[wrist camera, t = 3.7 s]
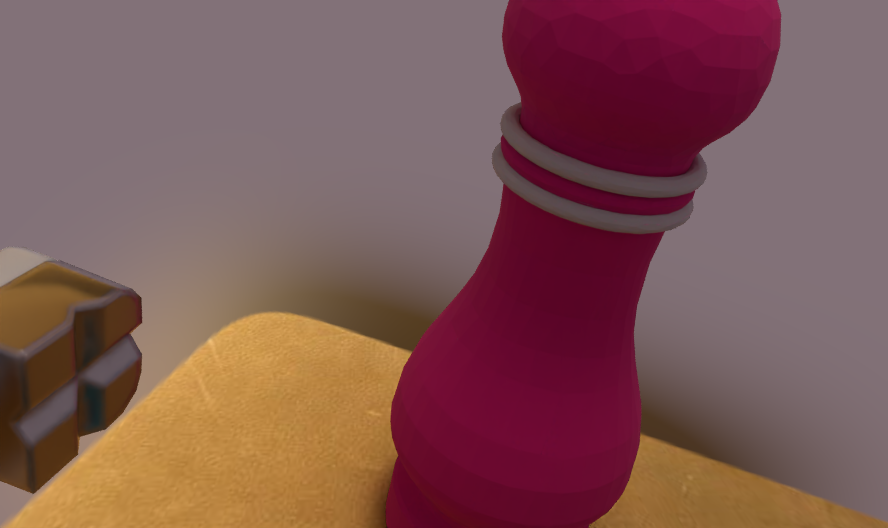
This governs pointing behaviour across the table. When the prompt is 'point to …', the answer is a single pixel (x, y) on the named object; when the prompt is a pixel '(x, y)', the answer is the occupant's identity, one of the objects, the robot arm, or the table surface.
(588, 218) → the pepper mill
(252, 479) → the table surface
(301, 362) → the table surface
